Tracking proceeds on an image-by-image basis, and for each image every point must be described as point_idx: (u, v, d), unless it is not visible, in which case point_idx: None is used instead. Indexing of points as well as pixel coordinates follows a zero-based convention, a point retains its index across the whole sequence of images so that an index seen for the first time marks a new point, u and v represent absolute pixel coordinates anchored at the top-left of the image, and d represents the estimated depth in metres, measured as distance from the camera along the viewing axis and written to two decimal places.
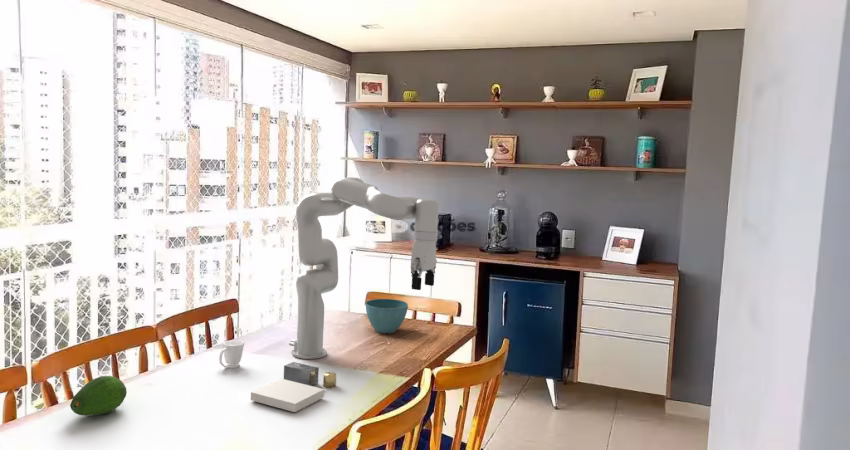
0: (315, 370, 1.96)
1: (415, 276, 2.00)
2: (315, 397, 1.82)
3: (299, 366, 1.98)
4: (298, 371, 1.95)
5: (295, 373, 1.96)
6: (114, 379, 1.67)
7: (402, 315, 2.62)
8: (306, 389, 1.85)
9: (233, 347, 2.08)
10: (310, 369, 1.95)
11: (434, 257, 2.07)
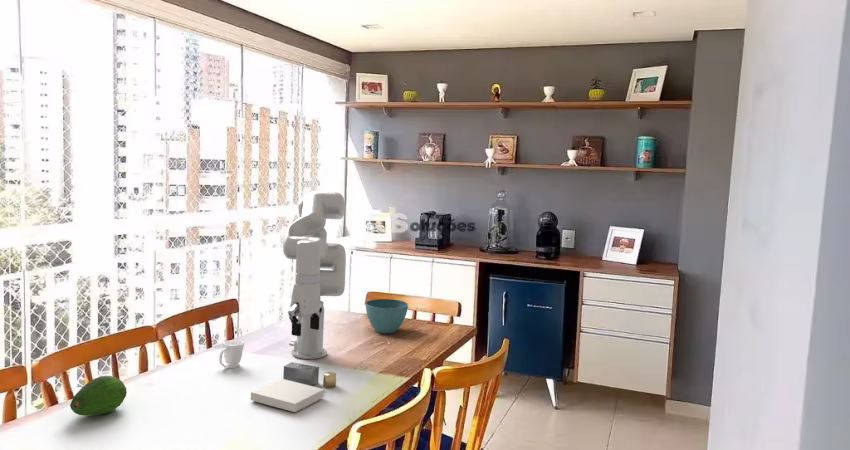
0: (316, 369, 1.97)
1: (294, 322, 1.91)
2: (315, 397, 1.82)
3: (299, 366, 1.98)
4: (299, 371, 1.95)
5: (296, 373, 1.96)
6: (114, 379, 1.67)
7: (402, 315, 2.62)
8: (306, 389, 1.85)
9: (233, 347, 2.08)
10: (311, 369, 1.96)
11: (318, 300, 1.98)
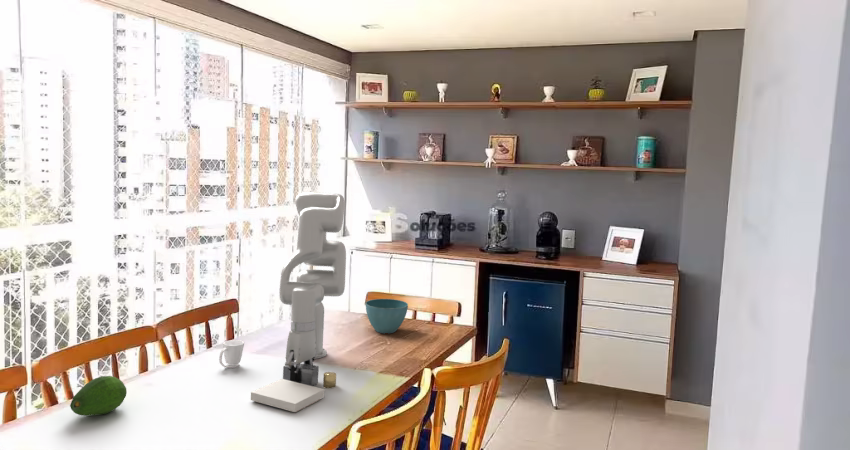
0: (316, 369, 1.97)
1: (292, 372, 1.94)
2: (315, 397, 1.82)
3: None
4: (299, 370, 1.95)
5: None
6: (114, 379, 1.67)
7: (402, 315, 2.62)
8: (306, 389, 1.85)
9: (233, 347, 2.08)
10: (312, 368, 1.96)
11: (313, 346, 1.99)
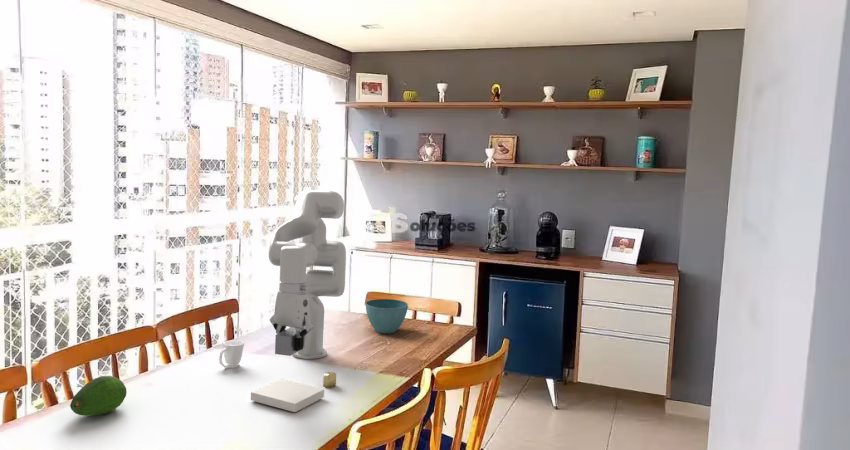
0: (285, 337, 1.77)
1: None
2: (315, 397, 1.82)
3: (292, 331, 1.83)
4: None
5: None
6: (114, 379, 1.67)
7: (402, 315, 2.62)
8: (306, 389, 1.85)
9: (233, 347, 2.08)
10: (282, 334, 1.78)
11: (295, 314, 1.78)
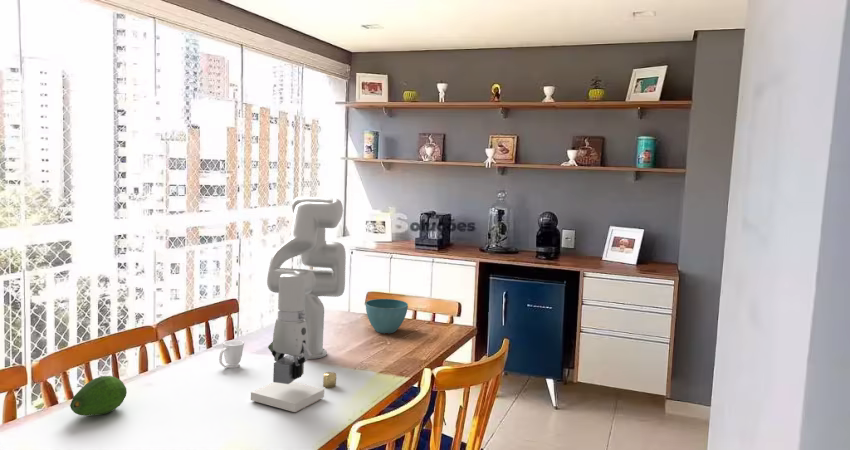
0: (283, 366, 1.77)
1: None
2: (315, 397, 1.82)
3: (290, 358, 1.83)
4: None
5: None
6: (114, 379, 1.67)
7: (402, 315, 2.62)
8: (306, 389, 1.85)
9: (233, 347, 2.08)
10: (280, 362, 1.78)
11: (293, 342, 1.78)
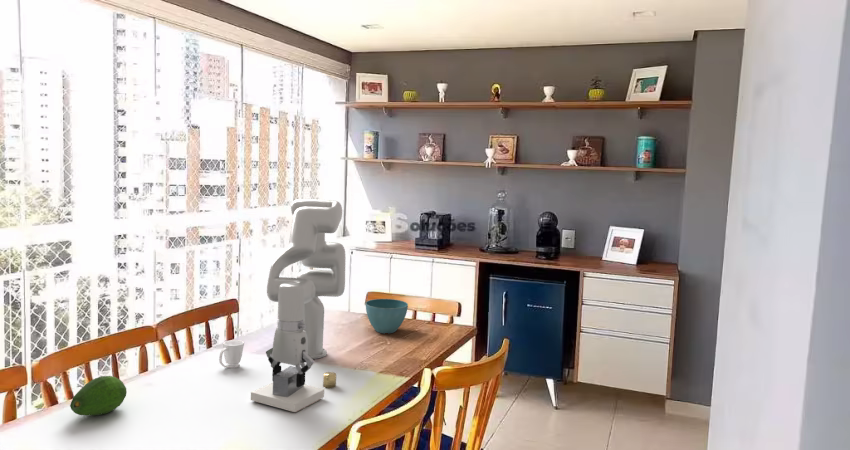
0: (282, 379, 1.78)
1: None
2: (315, 397, 1.82)
3: (290, 371, 1.83)
4: None
5: None
6: (114, 379, 1.67)
7: (402, 315, 2.62)
8: (306, 389, 1.85)
9: (233, 347, 2.08)
10: (279, 375, 1.79)
11: (293, 352, 1.78)
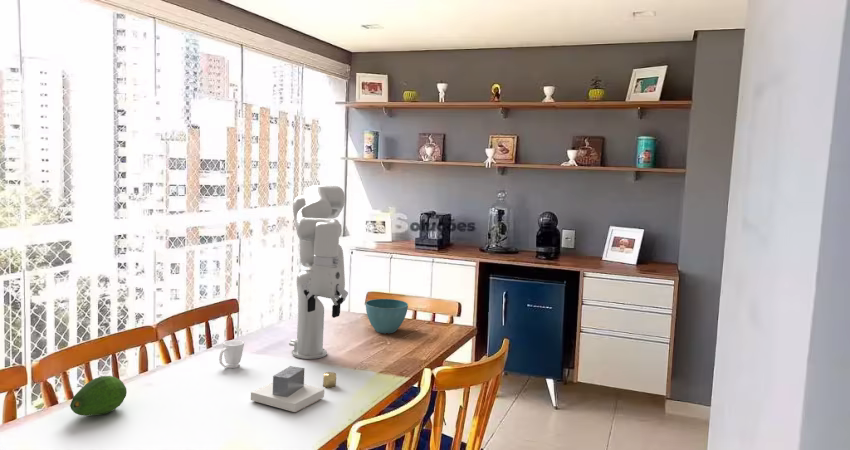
0: (282, 379, 1.78)
1: None
2: (315, 397, 1.82)
3: (290, 371, 1.83)
4: None
5: None
6: (114, 379, 1.67)
7: (402, 315, 2.62)
8: (306, 389, 1.85)
9: (233, 347, 2.08)
10: (279, 375, 1.79)
11: (328, 285, 1.92)
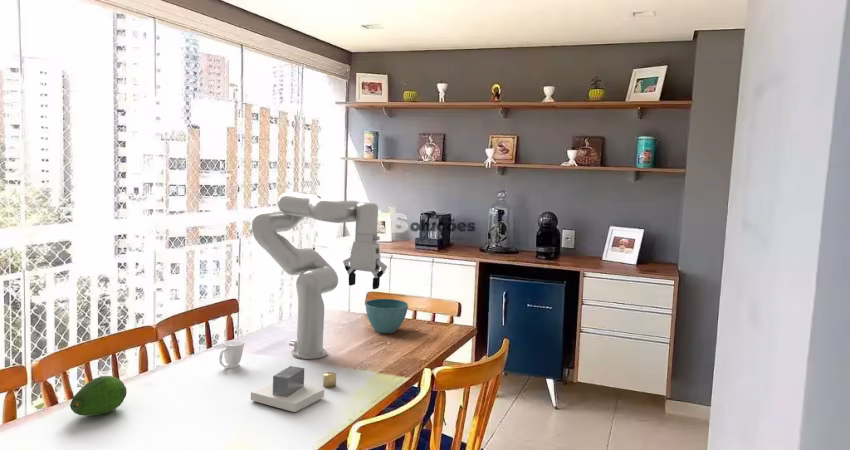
0: (282, 379, 1.78)
1: None
2: (315, 397, 1.82)
3: (290, 371, 1.83)
4: None
5: None
6: (114, 379, 1.67)
7: (402, 315, 2.62)
8: (306, 389, 1.85)
9: (233, 347, 2.08)
10: (279, 375, 1.79)
11: (369, 260, 2.12)
